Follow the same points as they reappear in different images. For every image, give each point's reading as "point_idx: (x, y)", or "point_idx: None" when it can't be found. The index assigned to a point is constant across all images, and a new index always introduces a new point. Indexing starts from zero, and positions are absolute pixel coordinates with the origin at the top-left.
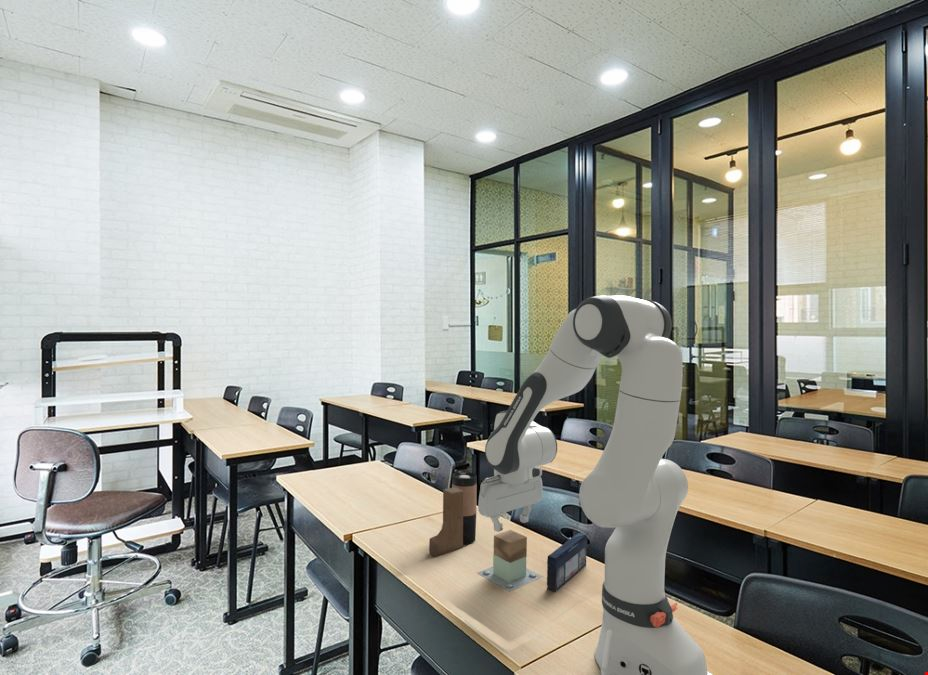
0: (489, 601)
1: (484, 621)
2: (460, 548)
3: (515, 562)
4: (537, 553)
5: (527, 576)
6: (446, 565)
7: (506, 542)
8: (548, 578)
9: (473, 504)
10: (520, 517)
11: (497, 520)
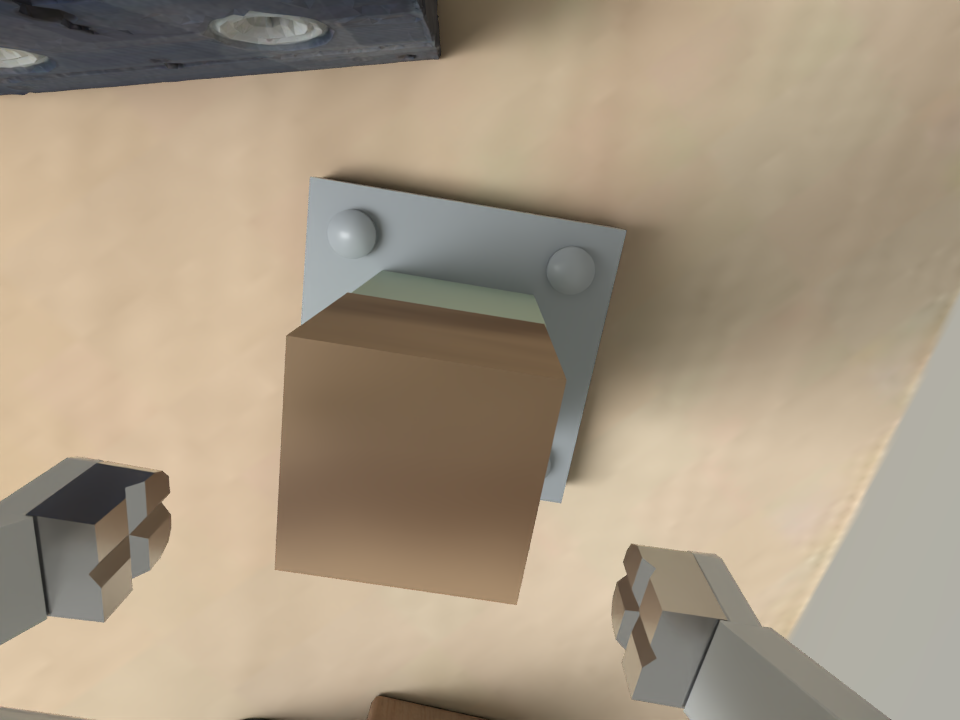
0: (721, 290)
1: (924, 182)
2: (388, 717)
3: (479, 311)
4: (51, 413)
5: (385, 256)
6: (545, 664)
7: (551, 430)
8: (426, 8)
9: None
10: (130, 581)
11: (851, 710)
